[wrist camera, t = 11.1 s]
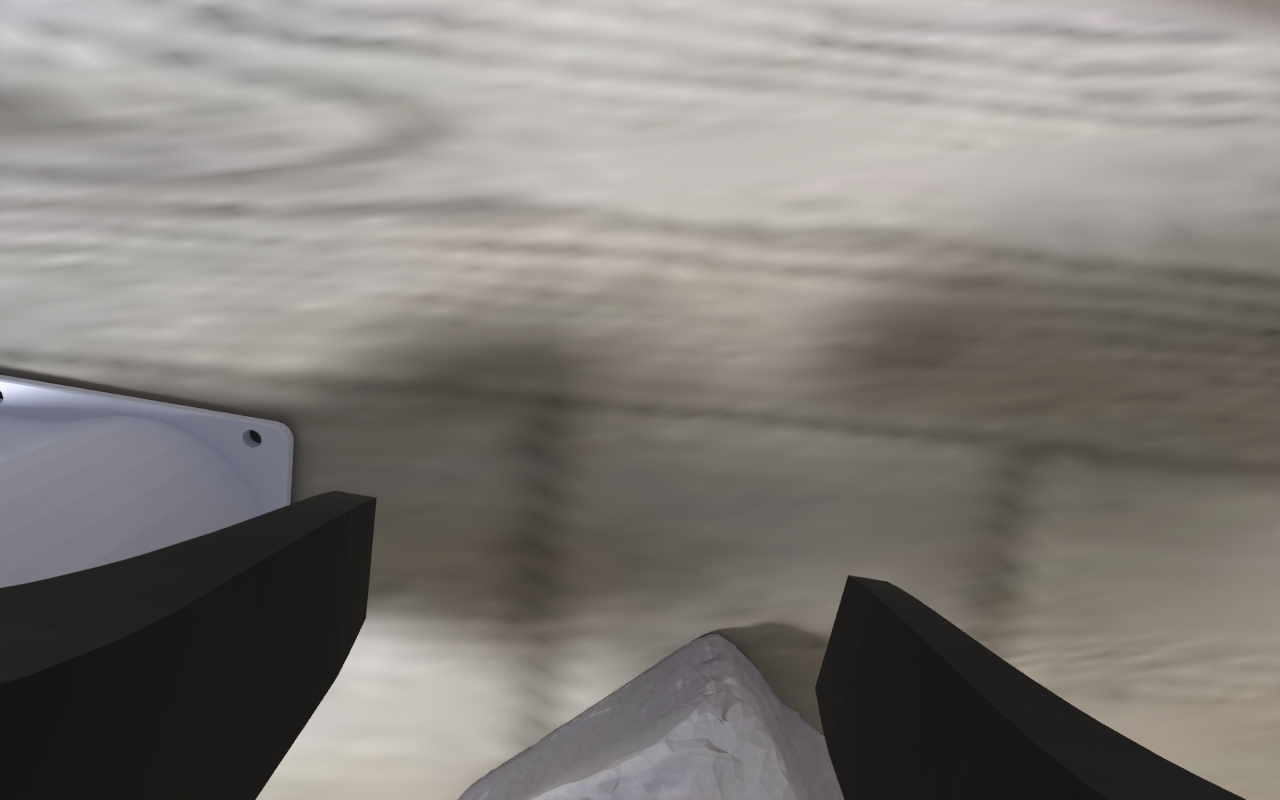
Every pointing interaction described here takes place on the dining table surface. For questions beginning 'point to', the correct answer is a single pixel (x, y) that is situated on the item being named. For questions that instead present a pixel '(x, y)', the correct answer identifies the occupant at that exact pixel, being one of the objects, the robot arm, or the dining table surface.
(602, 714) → the grey angular piece
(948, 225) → the dining table surface
